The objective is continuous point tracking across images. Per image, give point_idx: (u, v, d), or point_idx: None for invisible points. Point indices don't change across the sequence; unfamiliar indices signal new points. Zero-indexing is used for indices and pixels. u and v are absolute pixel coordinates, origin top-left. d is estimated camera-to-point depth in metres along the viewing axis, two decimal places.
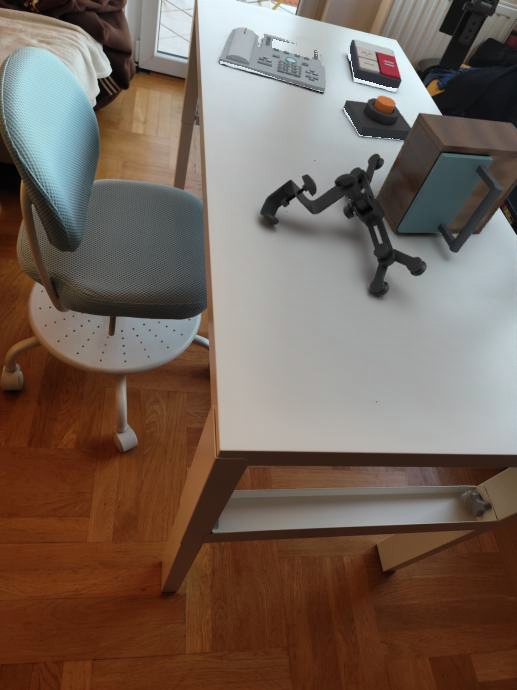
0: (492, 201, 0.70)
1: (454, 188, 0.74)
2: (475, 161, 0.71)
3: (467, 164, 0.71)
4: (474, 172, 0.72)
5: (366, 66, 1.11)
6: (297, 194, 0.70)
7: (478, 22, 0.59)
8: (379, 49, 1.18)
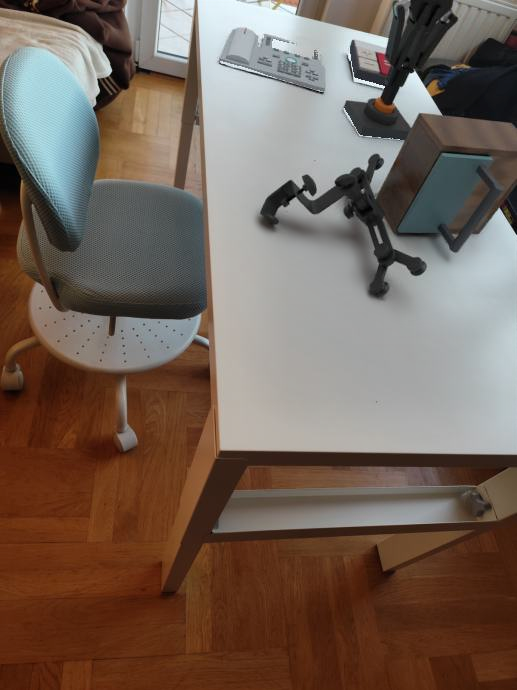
0: (492, 201, 0.70)
1: (454, 188, 0.74)
2: (475, 161, 0.71)
3: (467, 164, 0.71)
4: (474, 172, 0.72)
5: (366, 66, 1.11)
6: (297, 194, 0.70)
7: (392, 70, 0.93)
8: (379, 49, 1.18)
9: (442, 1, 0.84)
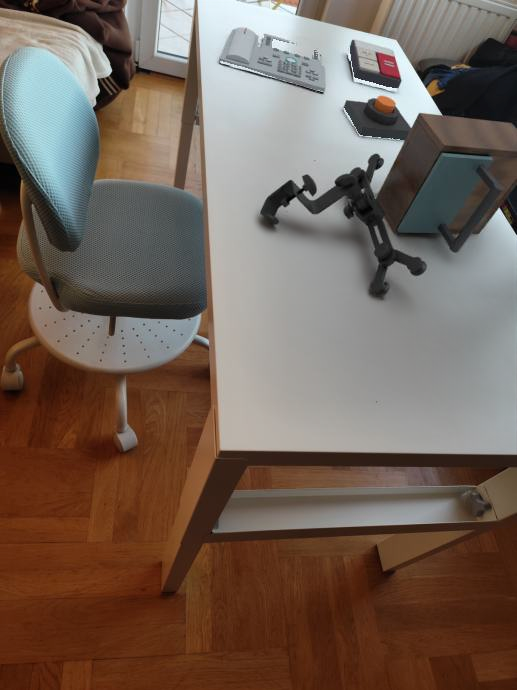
0: (492, 201, 0.70)
1: (454, 188, 0.74)
2: (475, 161, 0.71)
3: (467, 164, 0.71)
4: (474, 172, 0.72)
5: (366, 66, 1.11)
6: (297, 194, 0.70)
7: None
8: (379, 49, 1.18)
9: None
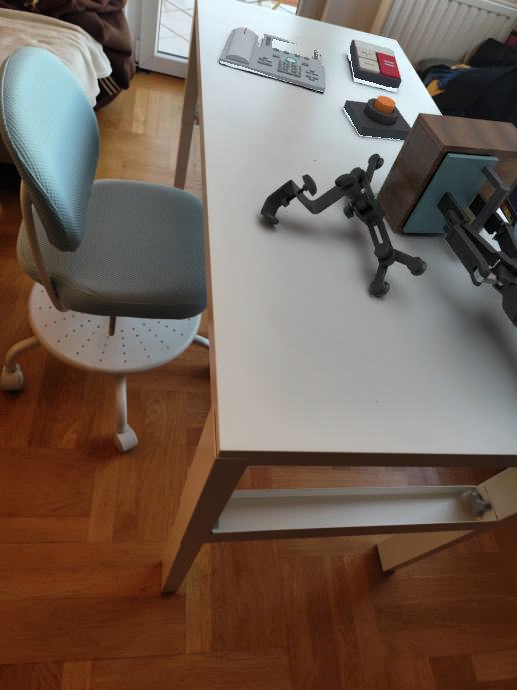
0: (498, 201, 0.70)
1: (460, 188, 0.74)
2: (481, 162, 0.71)
3: (473, 165, 0.71)
4: (480, 172, 0.73)
5: (366, 66, 1.11)
6: (297, 194, 0.70)
7: (504, 223, 0.74)
8: (379, 49, 1.18)
9: None
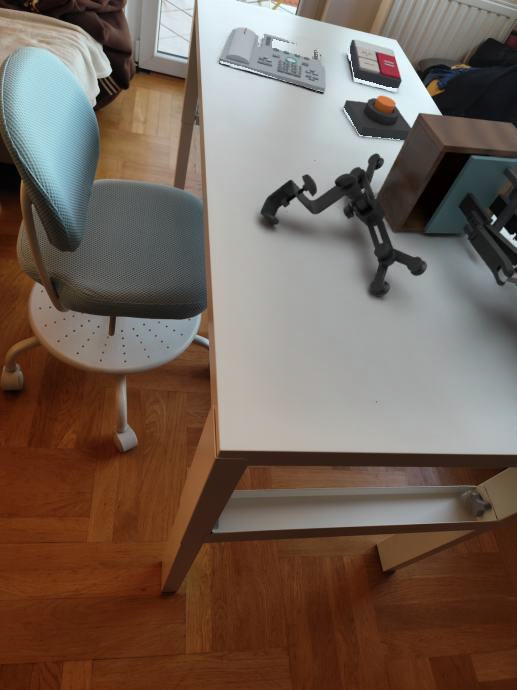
0: None
1: (481, 189, 0.76)
2: (503, 164, 0.72)
3: (495, 166, 0.72)
4: (501, 174, 0.74)
5: (366, 66, 1.11)
6: (297, 194, 0.70)
7: None
8: (379, 49, 1.18)
9: None
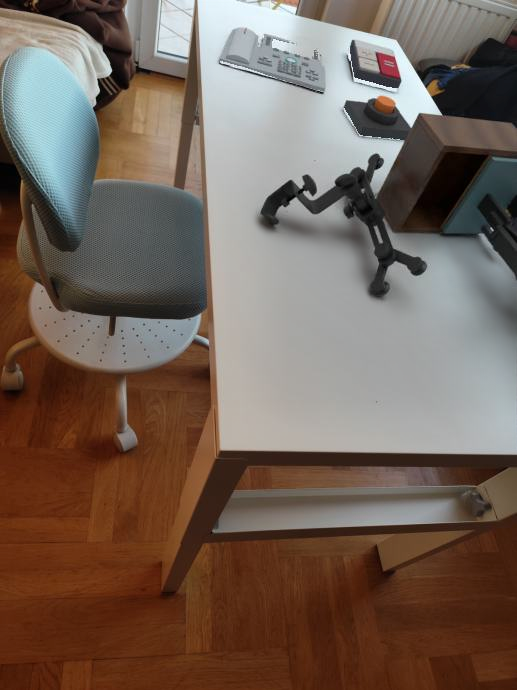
0: None
1: (500, 190, 0.77)
2: None
3: (515, 168, 0.74)
4: None
5: (366, 66, 1.11)
6: (297, 194, 0.70)
7: None
8: (379, 49, 1.18)
9: None
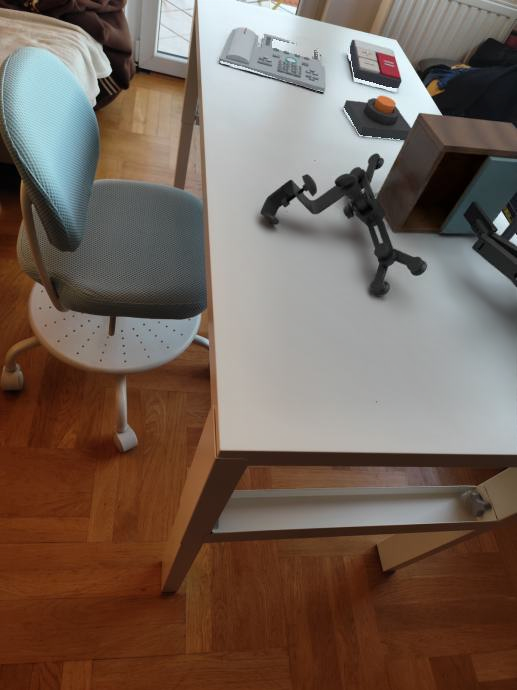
0: None
1: (498, 190, 0.77)
2: None
3: (513, 168, 0.74)
4: None
5: (366, 66, 1.11)
6: (297, 194, 0.70)
7: None
8: (379, 49, 1.18)
9: None
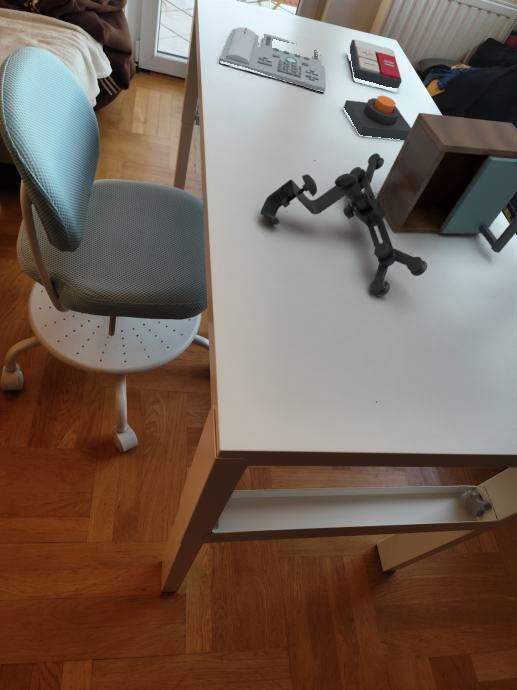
0: None
1: (498, 190, 0.77)
2: None
3: (513, 168, 0.74)
4: None
5: (366, 66, 1.11)
6: (297, 194, 0.70)
7: None
8: (379, 49, 1.18)
9: None
